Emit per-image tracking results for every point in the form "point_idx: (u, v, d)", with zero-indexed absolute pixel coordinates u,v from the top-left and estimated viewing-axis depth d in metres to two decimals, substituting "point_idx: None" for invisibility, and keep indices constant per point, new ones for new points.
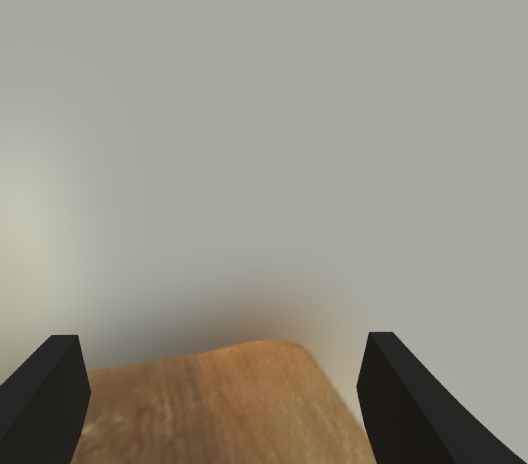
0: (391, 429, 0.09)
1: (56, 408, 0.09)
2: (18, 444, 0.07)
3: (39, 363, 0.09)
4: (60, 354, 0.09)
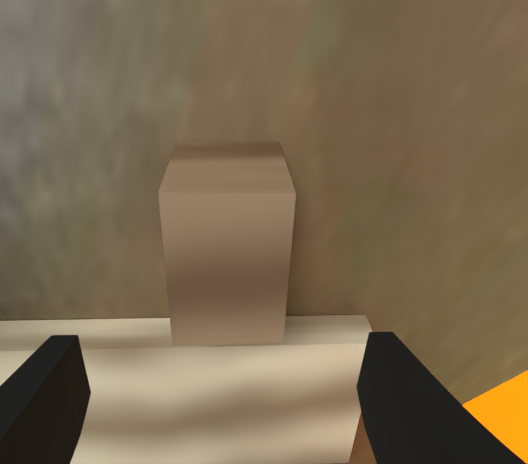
0: (391, 429, 0.09)
1: (56, 408, 0.09)
2: (18, 444, 0.07)
3: (39, 363, 0.09)
4: (60, 354, 0.09)
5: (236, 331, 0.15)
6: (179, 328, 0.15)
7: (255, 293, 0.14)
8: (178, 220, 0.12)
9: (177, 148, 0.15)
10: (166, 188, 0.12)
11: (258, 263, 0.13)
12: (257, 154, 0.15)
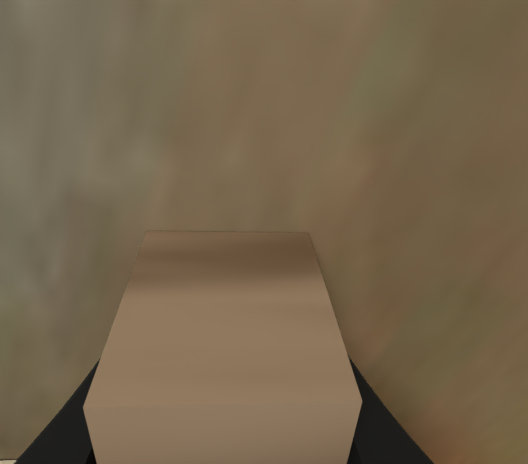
0: None
1: None
2: None
3: None
4: None
5: None
6: None
7: None
8: (128, 446, 0.06)
9: (143, 256, 0.09)
10: (103, 390, 0.06)
11: None
12: (277, 269, 0.09)
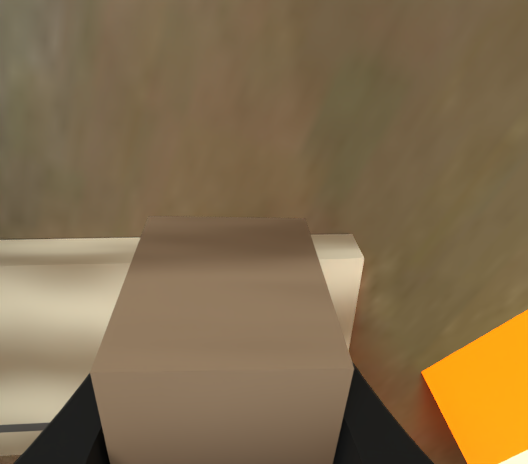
0: None
1: None
2: None
3: None
4: None
5: None
6: None
7: None
8: (132, 412, 0.07)
9: (145, 238, 0.10)
10: (108, 357, 0.06)
11: None
12: (275, 251, 0.09)
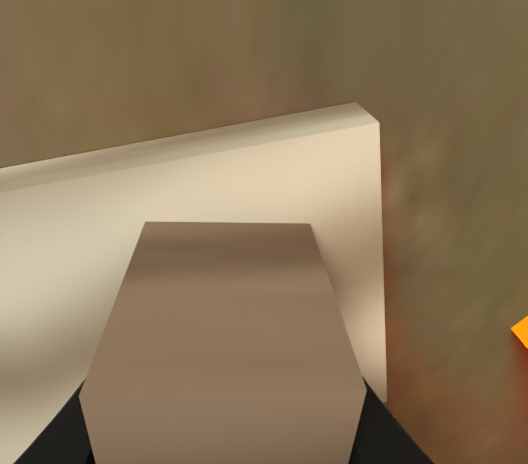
0: None
1: None
2: None
3: None
4: None
5: None
6: None
7: None
8: (124, 437, 0.06)
9: (142, 246, 0.09)
10: (99, 378, 0.06)
11: None
12: (278, 259, 0.09)
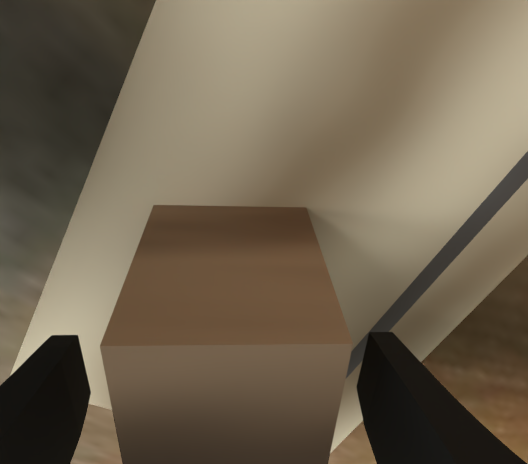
0: (391, 429, 0.09)
1: (56, 408, 0.09)
2: (18, 444, 0.07)
3: (39, 363, 0.09)
4: (60, 354, 0.09)
5: None
6: None
7: None
8: (139, 386, 0.07)
9: (151, 225, 0.10)
10: (117, 332, 0.07)
11: (280, 441, 0.08)
12: (276, 237, 0.10)
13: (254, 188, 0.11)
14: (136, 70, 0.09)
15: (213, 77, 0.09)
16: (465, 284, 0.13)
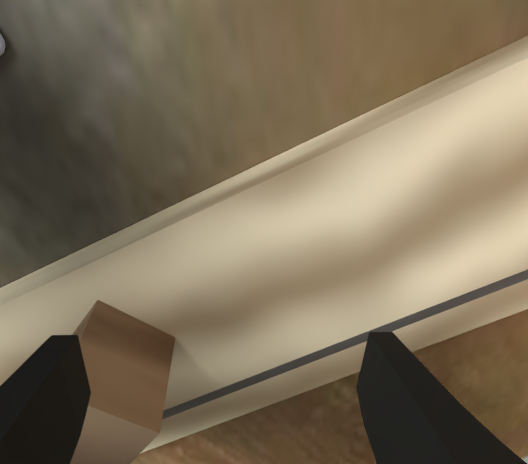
0: (391, 429, 0.09)
1: (56, 408, 0.09)
2: (18, 444, 0.07)
3: (39, 363, 0.09)
4: (60, 354, 0.09)
5: None
6: None
7: None
8: None
9: (93, 318, 0.17)
10: None
11: (102, 459, 0.16)
12: (152, 354, 0.18)
13: (154, 317, 0.19)
14: (132, 246, 0.17)
15: (166, 267, 0.18)
16: (232, 405, 0.23)
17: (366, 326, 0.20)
